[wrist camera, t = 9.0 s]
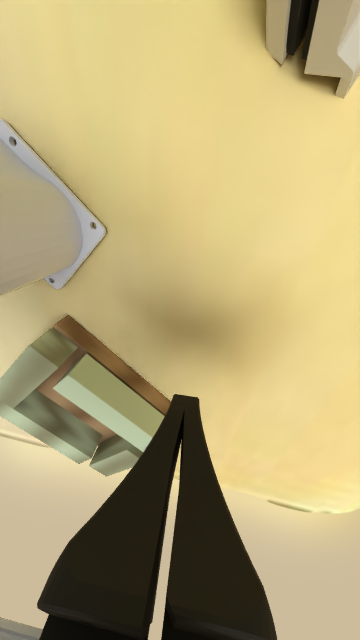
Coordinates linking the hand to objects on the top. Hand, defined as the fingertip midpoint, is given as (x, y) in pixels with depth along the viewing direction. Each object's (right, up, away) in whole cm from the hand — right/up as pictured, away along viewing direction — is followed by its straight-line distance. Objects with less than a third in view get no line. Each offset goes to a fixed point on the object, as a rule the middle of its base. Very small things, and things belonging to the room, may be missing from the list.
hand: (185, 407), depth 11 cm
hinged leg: (-6, -4, +11) cm, 14 cm away
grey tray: (-11, -4, +15) cm, 19 cm away
